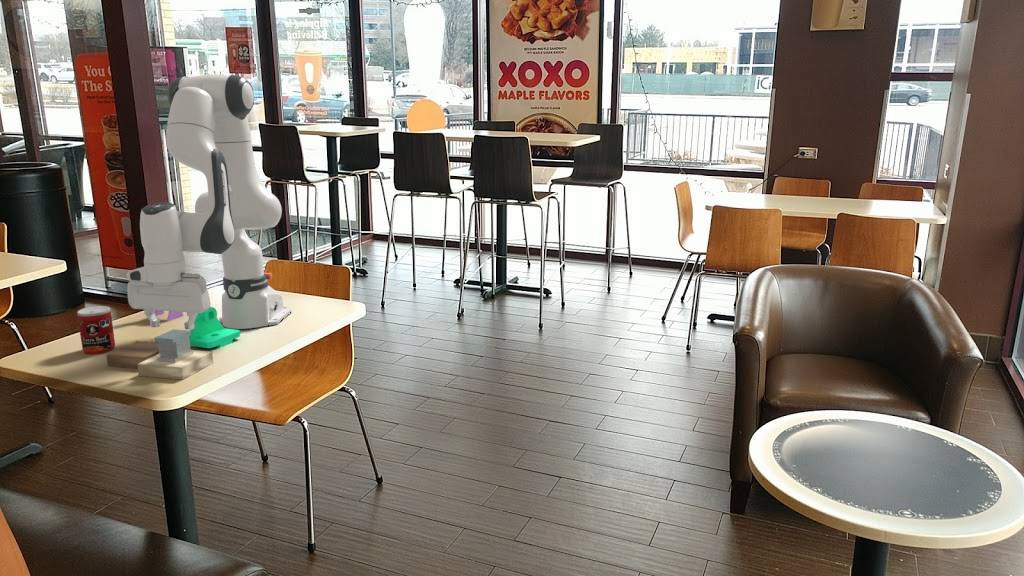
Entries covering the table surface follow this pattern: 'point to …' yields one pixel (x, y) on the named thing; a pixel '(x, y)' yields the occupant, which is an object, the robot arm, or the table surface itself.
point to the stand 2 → (176, 366)
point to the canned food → (96, 329)
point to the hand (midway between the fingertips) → (172, 327)
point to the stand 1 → (132, 354)
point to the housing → (174, 346)
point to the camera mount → (211, 331)
